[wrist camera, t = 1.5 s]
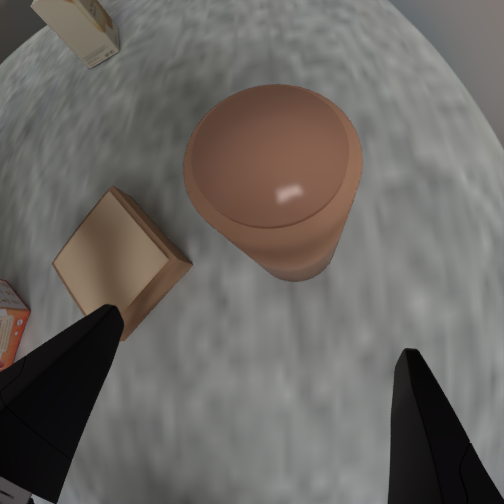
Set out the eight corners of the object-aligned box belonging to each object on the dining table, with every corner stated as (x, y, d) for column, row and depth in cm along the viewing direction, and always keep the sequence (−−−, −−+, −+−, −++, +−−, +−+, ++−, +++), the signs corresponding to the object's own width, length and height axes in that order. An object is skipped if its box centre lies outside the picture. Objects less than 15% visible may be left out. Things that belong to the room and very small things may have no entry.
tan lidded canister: (296, 299, 21) (271, 285, 8) (237, 243, 22) (145, 162, 10) (352, 237, 21) (401, 142, 8) (292, 185, 22) (264, 52, 10)
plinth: (124, 340, 22) (101, 343, 20) (72, 268, 24) (49, 262, 22) (193, 265, 22) (175, 258, 20) (130, 196, 24) (110, 183, 22)
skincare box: (121, 52, 29) (64, -19, 17) (89, 71, 29) (28, 8, 17) (118, 25, 30) (71, -38, 18) (89, 43, 30) (38, -15, 19)
